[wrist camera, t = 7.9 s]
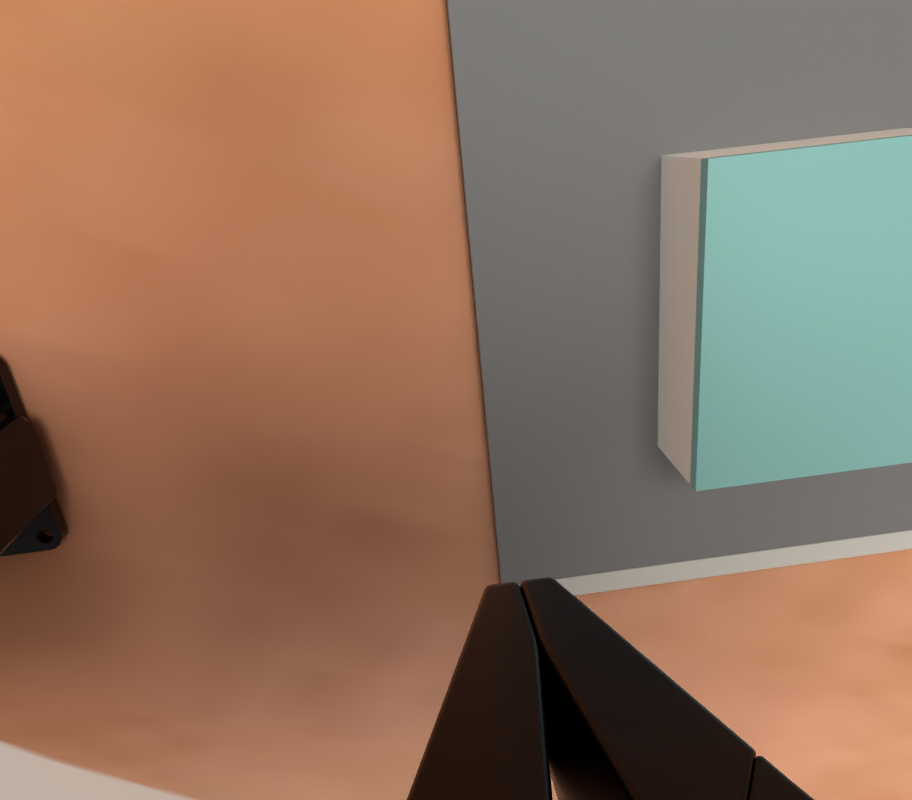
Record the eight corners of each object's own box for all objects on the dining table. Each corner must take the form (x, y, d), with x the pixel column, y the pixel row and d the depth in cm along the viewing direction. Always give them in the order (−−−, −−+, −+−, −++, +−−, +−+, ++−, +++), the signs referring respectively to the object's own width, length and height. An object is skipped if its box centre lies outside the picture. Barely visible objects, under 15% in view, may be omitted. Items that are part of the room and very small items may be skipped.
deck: (695, 491, 19) (931, 459, 19) (708, 158, 16) (993, 126, 16) (657, 446, 22) (863, 419, 22) (661, 155, 18) (905, 127, 19)
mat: (502, 597, 24) (503, 605, 24) (441, -55, 17) (442, -59, 16) (980, 531, 25) (990, 537, 24) (1129, -123, 17) (1146, -129, 17)
